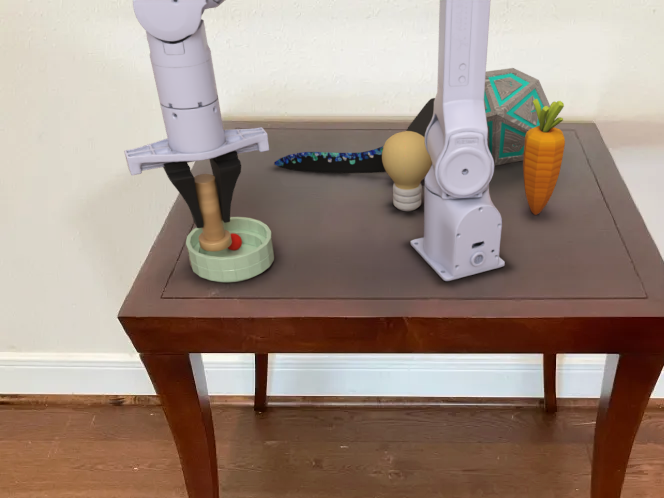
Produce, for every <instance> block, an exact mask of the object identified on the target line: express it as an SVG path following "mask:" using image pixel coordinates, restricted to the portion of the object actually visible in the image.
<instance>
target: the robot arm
mask: <svg viewBox="0 0 664 498" xmlns="http://www.w3.org/2000/svg"><path fill="white" fill-rule="evenodd" d="M225 1H226V0H132V8H133V12H134V15H135V18H136V19H137V21H138V24H140V26H141V27H142V28H143V29H144V31H145V35H146V41H147V44H148V48H149V52H150V53H149V59H150V63H151V69H152V72H153V77H154V82H155V86H156V87H155V88H156V92H157V96H158V101H159V105H160V109H161V115H162V120H163V124H164V129H165V133H166V138H164V139H161V140H157V141H154V142H151V143H147V144H146V145H143V146H142V145H141V146H139V147H135V148H130V149H124V151H123V152H124V158H125V160H126V165H127V168H128V171H129V173H130V175H131V176H137V175H141V174H143V171H150V170H155V169H160V168H162V169H163V170H164V172H165V174H166V176H167V178H168V180H169V181H170V182H171V184H172V185H173V187H175V189H176V190H177V191H178V193H179V194H180V196H181V197H182V199H183V200H184V203H186V205H187V207H188V209H189V211H190V214H191V217H192V221H193V222H194V225H195V226H196V227H197V228H203V227H204V225H203V219H202V216H201V212H200V209H199V205H198V201H197V194H196V187H195V178H194V177H195V176H194V174H193V173H192V170H191V166H190V165H189V163H194V162H200V161H207V160H209V163H210V168H211V172H212V175H214V176H215V180H216V186H217V191H218V197H219V202H220V208H221V214H222V220H223V222H224V223H227V222H230V217H231V210H232V209H231V207H232V201H233V195H234V191H235V188H236V185H237V181H238V179H239V177H240V175H241V173H242V162H241V160H240V159H239V156H238V154H243V153H249V152H255V151H258V152H259V153H263V152H269V151H270V145H269V135H268V132H267V131H266V130H265V129H264V127H262V126H261V127H254V128H236V129H234V128H233V129H224V124H223V123H224V122H223V118H222V113H221V106H220V100H219V95H218V94H219V93H218V88H217V83H216V76H215V75H216V74H215V69H214V63H213V57H212V51H211V48H210V46H209V44H208V38H207V31H206V26H205V20H204V19H202V17H203V14H204V13H205V11H206V10H208V9H209V10H210V9H216V8H218V7H220V5H222V4H223V3H224V2H225ZM438 11H439V13H438V15H439V16H438V47H437V48H438V49H437V51H438V53H437V90H436V95H435V97H434V98H435V100H434V111H433V117H432V120H431V122H430V123H429V125H428V127H427V129H426V132H425V146H426V149H427V152H428V153H429V155H430V157H431V161H432V165H431V168H430V170H429V172H428V173H427V174H426V176H425V177H424V196H423V197H424V198H423V199H424V201H423V203H424V204H423V211H424V212H423V236H422V237H418V238H414V239H412V240H410V244H409V245H410V246H411V247H412V248H413V249H414V250H415V251H416V252H417V253H418V255H420V257H422V259H423V260H424V261H425V262H426V263H427V264H428V265H429V267H430V268H432V270H434V272H435V273H436V274H437V275H438V276H439V277H440V278H441V279H442V280H443V281H445V282H450V281H455V280H458V279H461V278H465V277H469V276H472V275H476V274H481V273H484V272H488V271H491V270H495V269H500V268H502V267H505V265H506V264H505V262H506V261H505V260H504V259H502V258H501V257H500V250H501V240H502V228H503V218H502V214H501V213H500V211H499V210H498V208H497V207H496V206H495V204H494V202H493V201H492V198H491V194H490V182H491V180H492V178H493V176H494V173H495V166H494V160H493V157H492V155H491V153H490V151H489V148H488V144H487V136H488V128H487V120H486V113H485V106H484V91H485V76H486V71H487V59H488V44H489V27H490V17H491V16H490V12H491V0H439V10H438ZM196 227H195V228H196Z"/></svg>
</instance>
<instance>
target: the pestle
mask: <svg viewBox="0 0 664 498" xmlns="http://www.w3.org/2000/svg"><path fill="white" fill-rule="evenodd" d="M194 178H195V187H196V194H197V201H198V205H199V209H200V212H201V216H202V219H203V225H204V227H203V228H202V231H203V232H202V233H201V234H200V235H199V238H198V239H199V244H200V247H201V248H202V249H203V250H206V251H212V252H214V251H221V250H224V249H226V248H228V247H229V246H230V245H231V243H232V239H231V234H230V232H229V231H227V230H225V229H224V225H223V220H222V214H221V208H220V202H219V197H218V191H217V186H216V180H215V176H214V175H213V174H211V173H200V174H197V175H195V176H194Z"/></svg>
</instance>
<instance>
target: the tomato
mask: <svg viewBox="0 0 664 498" xmlns="http://www.w3.org/2000/svg"><path fill="white" fill-rule="evenodd" d="M231 239H232V243H231V245H230V246H229V247H228V249H230V250H238V249H239V248H240V247H241V245H242V239H241V237H240V236H239V235H237V234H234V233H232V234H231Z"/></svg>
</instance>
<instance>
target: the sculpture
mask: <svg viewBox="0 0 664 498" xmlns="http://www.w3.org/2000/svg"><path fill="white" fill-rule="evenodd" d="M535 99H538V101H539V103H540V106H541V111H542V108H543V107H545V106H548V107H550V105H551V103H550V102H549V100H548V98H547V96H546V93H545V91H544V89H543V86H542V84H541V82H540V79H538V78H536V77H534V76H531V75H529V74H527V73H525V72H523V71H521V70H519V69H516V68H515V67H509V68H502V69H494V70H486V76H485V91H484V106H485V113H486V120H487V128H488V136H487V144H488V148H489V151H490V153H491V155H492V157H493V160H494V167H495V166H501V165H506V164H511V163H517V162H523V159H524V144H525V136H526V133H527V131H529V130H530V129H532V128H534V127H537V126H540V124H539V120H538V116H537V113H536V109H535V106H534V104H533V101H534V100H535ZM545 122H546V119H545Z"/></svg>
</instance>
